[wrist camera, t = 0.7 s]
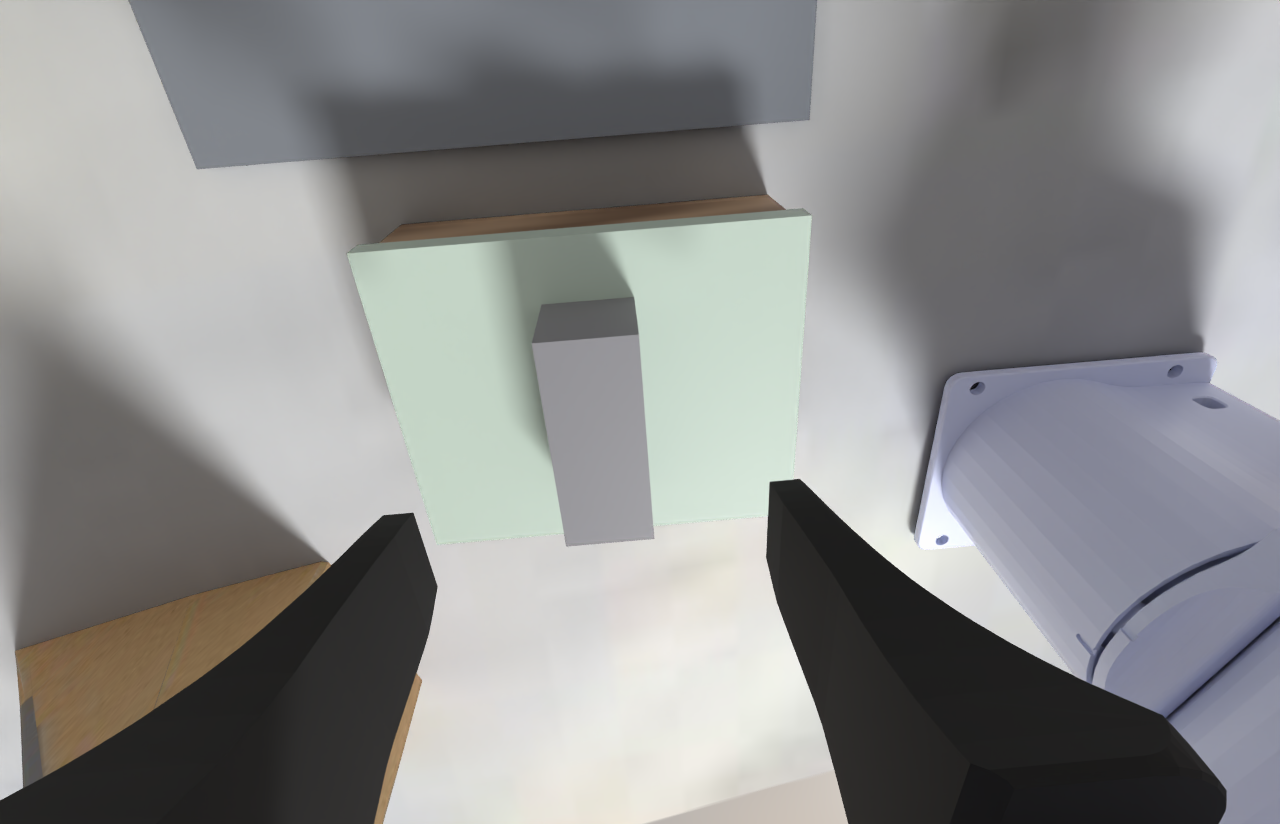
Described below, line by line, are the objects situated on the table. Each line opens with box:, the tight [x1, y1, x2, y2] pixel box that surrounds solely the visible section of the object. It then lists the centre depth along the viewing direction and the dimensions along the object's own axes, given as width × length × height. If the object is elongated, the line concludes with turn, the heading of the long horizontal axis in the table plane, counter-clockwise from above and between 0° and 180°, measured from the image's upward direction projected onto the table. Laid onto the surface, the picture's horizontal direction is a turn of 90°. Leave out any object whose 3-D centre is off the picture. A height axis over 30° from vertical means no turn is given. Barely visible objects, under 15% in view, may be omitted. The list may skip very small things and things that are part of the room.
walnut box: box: [380, 195, 786, 243], centre depth 19 cm, size 11×9×3 cm
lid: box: [347, 208, 812, 546], centre depth 17 cm, size 11×9×4 cm
